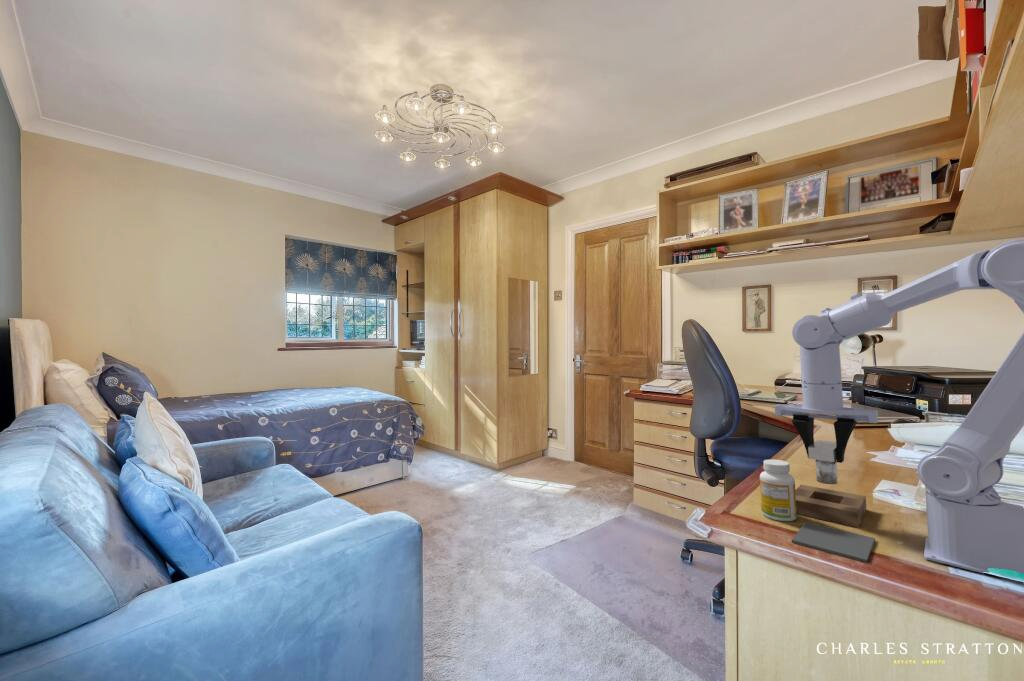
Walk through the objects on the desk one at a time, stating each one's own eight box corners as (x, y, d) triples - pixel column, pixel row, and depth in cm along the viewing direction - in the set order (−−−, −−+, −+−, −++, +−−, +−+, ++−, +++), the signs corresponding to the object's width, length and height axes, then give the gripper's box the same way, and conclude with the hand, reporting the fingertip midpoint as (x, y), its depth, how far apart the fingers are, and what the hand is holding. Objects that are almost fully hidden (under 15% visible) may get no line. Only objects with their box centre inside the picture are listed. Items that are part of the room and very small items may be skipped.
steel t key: (835, 488, 69) (833, 450, 69) (810, 484, 72) (808, 447, 72) (843, 478, 74) (841, 442, 74) (819, 474, 76) (817, 440, 76)
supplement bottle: (776, 508, 78) (773, 456, 78) (804, 519, 73) (801, 464, 73) (754, 512, 76) (751, 460, 76) (781, 524, 71) (778, 467, 71)
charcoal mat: (875, 540, 64) (874, 537, 64) (866, 562, 58) (866, 559, 58) (805, 524, 71) (805, 521, 71) (791, 542, 64) (791, 539, 64)
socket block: (866, 509, 75) (865, 496, 75) (858, 527, 68) (857, 512, 69) (801, 496, 83) (800, 484, 83) (788, 511, 76) (787, 498, 76)
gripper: (878, 382, 70) (883, 461, 70) (780, 380, 81) (784, 448, 81) (872, 386, 66) (877, 471, 65) (769, 383, 76) (773, 456, 76)
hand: (825, 459), depth 73 cm, fingers closed on steel t key, 3 cm apart
